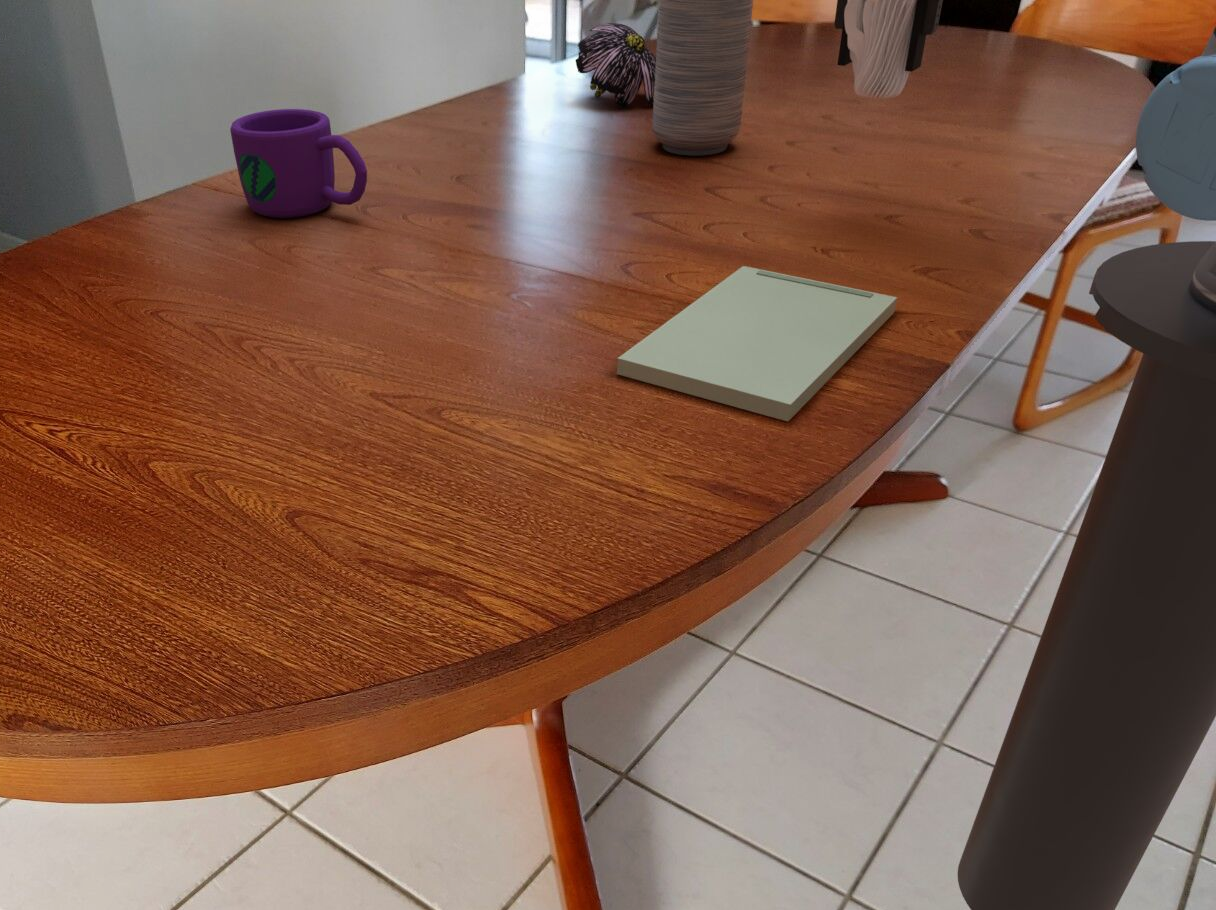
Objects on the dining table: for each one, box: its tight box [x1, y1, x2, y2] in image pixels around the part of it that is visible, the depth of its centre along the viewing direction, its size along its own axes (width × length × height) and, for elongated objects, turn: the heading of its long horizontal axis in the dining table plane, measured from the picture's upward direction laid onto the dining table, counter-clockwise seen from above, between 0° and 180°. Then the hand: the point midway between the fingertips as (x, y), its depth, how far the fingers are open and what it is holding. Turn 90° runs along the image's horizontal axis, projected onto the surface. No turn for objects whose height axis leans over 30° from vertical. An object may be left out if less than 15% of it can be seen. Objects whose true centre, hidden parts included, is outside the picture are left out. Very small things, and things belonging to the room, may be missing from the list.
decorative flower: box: [575, 22, 656, 110], centre depth 160 cm, size 14×12×15 cm
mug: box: [230, 108, 368, 219], centre depth 120 cm, size 17×11×10 cm, turn 60°
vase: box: [651, 0, 754, 157], centre depth 133 cm, size 12×12×23 cm
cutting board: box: [616, 265, 898, 423], centre depth 90 cm, size 24×15×2 cm, turn 144°
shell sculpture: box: [844, 0, 917, 99], centre depth 105 cm, size 8×8×18 cm
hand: (878, 65), depth 109 cm, fingers closed on shell sculpture, 6 cm apart
